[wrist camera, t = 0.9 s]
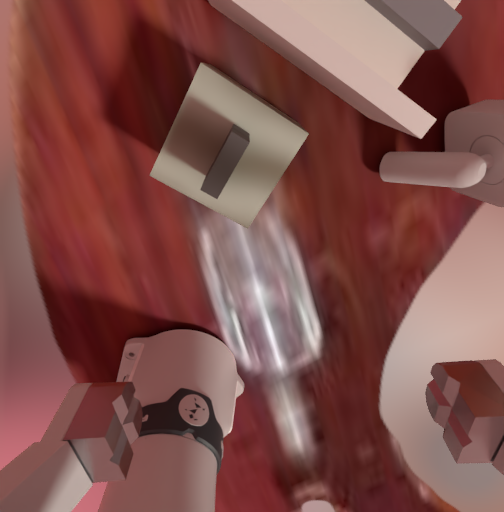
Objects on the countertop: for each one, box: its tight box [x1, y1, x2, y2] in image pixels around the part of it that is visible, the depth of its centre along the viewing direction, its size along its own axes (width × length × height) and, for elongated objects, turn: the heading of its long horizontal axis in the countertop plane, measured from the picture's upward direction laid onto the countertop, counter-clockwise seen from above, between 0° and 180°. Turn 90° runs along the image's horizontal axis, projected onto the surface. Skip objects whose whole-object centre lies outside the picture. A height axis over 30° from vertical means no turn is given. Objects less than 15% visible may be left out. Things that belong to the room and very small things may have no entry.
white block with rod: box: [380, 100, 504, 207], centre depth 31 cm, size 8×10×10 cm
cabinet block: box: [150, 63, 309, 228], centre depth 30 cm, size 10×10×11 cm
